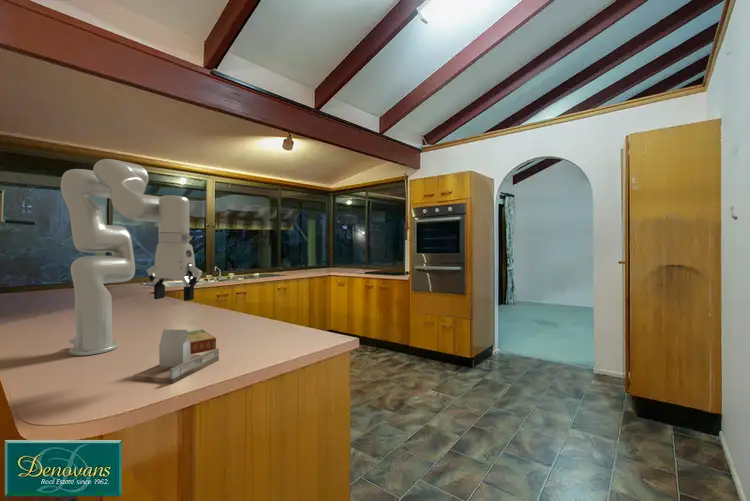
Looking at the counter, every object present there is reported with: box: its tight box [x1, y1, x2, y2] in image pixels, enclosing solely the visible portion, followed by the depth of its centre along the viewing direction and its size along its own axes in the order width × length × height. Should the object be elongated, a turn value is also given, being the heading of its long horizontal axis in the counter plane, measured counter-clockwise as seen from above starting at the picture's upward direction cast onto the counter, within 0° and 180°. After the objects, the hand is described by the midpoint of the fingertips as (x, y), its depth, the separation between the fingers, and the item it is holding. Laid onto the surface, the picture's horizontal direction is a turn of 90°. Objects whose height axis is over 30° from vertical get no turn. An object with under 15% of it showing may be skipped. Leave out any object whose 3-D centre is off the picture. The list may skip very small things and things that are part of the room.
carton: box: [187, 329, 217, 354], centre depth 119 cm, size 8×16×4 cm, turn 42°
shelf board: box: [133, 347, 220, 384], centre depth 97 cm, size 12×18×4 cm
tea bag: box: [158, 328, 190, 367], centre depth 97 cm, size 4×7×10 cm, turn 89°
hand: (174, 299), depth 97 cm, fingers open, 9 cm apart
